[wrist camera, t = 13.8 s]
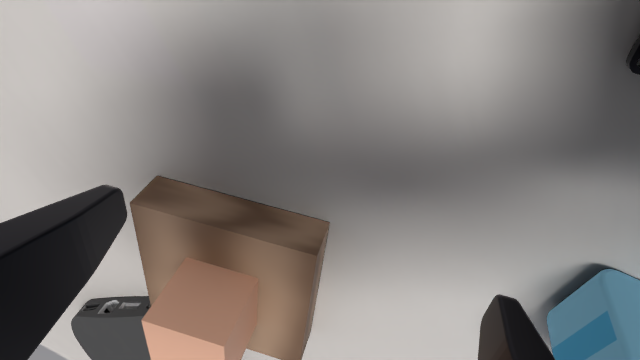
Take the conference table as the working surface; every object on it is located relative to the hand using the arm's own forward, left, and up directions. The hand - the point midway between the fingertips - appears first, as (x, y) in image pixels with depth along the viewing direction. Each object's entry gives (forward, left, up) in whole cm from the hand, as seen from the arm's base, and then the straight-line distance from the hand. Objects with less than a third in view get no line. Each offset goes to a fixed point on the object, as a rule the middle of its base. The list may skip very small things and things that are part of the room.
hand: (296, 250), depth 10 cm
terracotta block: (+7, +17, -10) cm, 21 cm away
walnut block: (+7, +17, -13) cm, 22 cm away
